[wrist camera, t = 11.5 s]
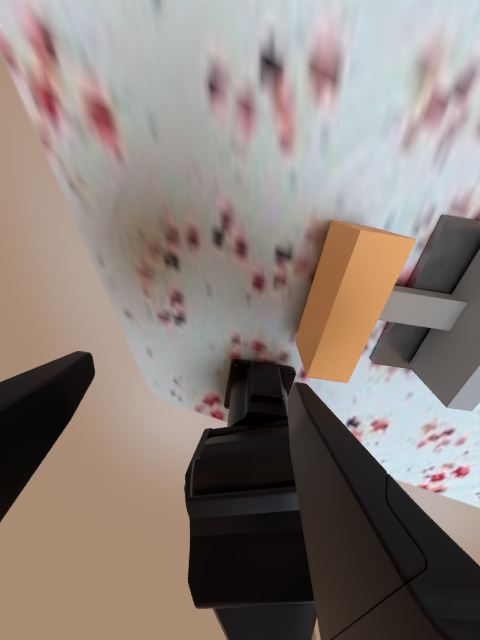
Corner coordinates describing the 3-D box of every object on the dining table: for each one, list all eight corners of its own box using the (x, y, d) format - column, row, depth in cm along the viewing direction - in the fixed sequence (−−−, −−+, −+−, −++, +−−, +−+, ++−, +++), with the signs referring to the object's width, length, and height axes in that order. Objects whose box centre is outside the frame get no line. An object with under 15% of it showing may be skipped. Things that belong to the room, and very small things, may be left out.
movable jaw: (428, 369, 22) (471, 411, 18) (292, 349, 22) (302, 387, 18) (517, 235, 17) (610, 250, 12) (336, 204, 16) (368, 209, 12)
